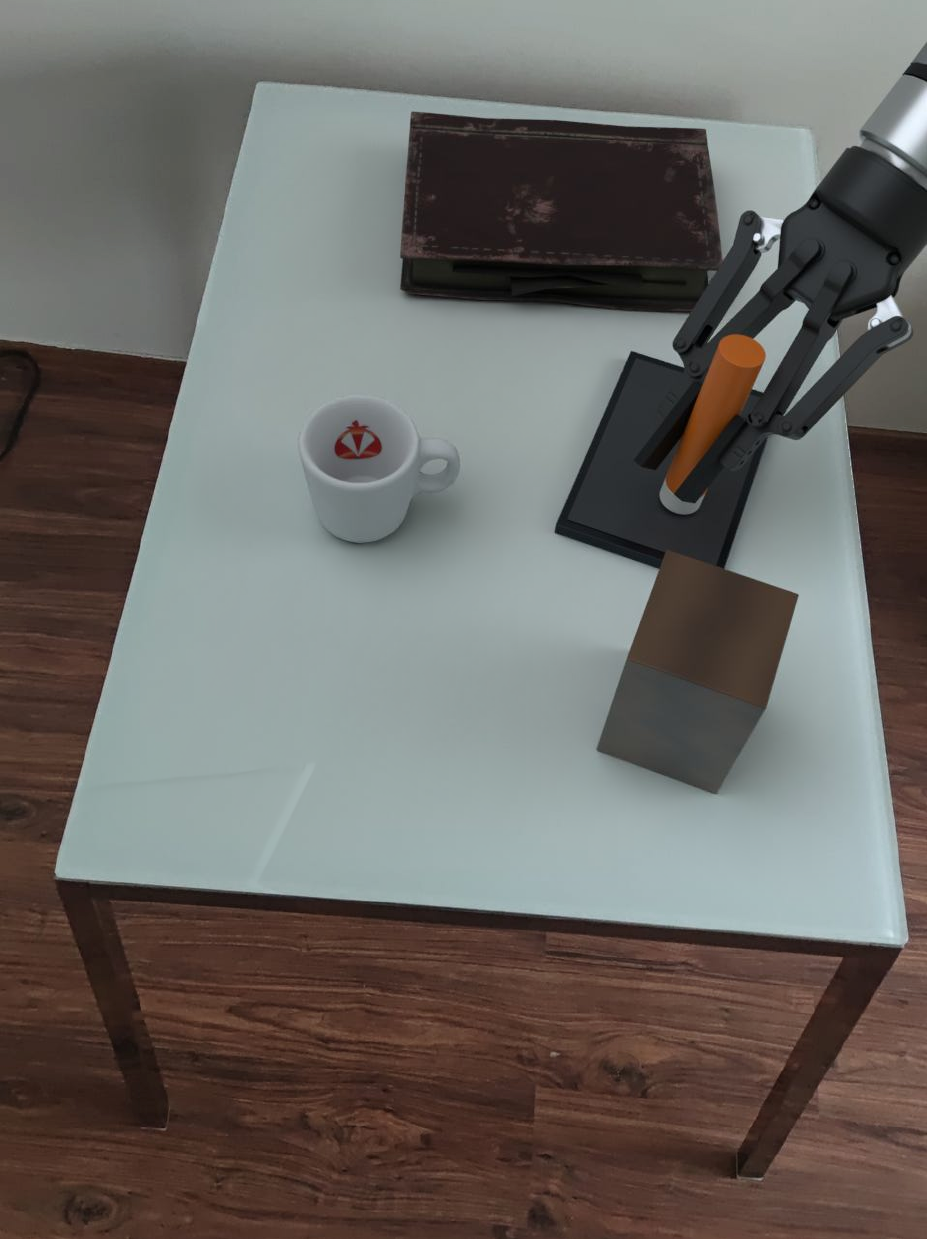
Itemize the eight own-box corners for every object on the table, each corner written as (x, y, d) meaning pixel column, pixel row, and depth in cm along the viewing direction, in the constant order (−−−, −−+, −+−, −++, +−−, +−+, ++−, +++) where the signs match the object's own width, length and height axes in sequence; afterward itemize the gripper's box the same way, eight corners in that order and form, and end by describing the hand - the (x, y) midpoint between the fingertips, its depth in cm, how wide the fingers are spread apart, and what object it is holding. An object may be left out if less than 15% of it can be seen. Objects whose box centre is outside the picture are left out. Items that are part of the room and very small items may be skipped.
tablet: (777, 406, 93) (781, 396, 92) (716, 588, 85) (720, 580, 84) (628, 359, 95) (631, 349, 94) (554, 532, 86) (555, 523, 85)
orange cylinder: (704, 491, 88) (770, 343, 76) (695, 520, 86) (760, 373, 74) (665, 477, 88) (724, 328, 77) (654, 505, 86) (714, 357, 75)
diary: (410, 152, 107) (411, 101, 102) (694, 168, 107) (706, 118, 103) (399, 305, 97) (399, 257, 93) (710, 322, 98) (725, 275, 93)
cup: (449, 460, 89) (454, 386, 82) (464, 549, 85) (470, 479, 78) (301, 471, 88) (294, 397, 81) (309, 562, 84) (302, 492, 77)
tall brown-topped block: (747, 690, 80) (799, 593, 70) (716, 794, 76) (766, 708, 66) (632, 649, 82) (666, 548, 71) (595, 750, 78) (626, 658, 67)
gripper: (1017, 262, 75) (769, 558, 83) (815, 128, 80) (602, 417, 88) (1004, 232, 68) (736, 556, 76) (785, 88, 74) (558, 404, 82)
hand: (664, 481), depth 82 cm, fingers closed on orange cylinder, 3 cm apart
